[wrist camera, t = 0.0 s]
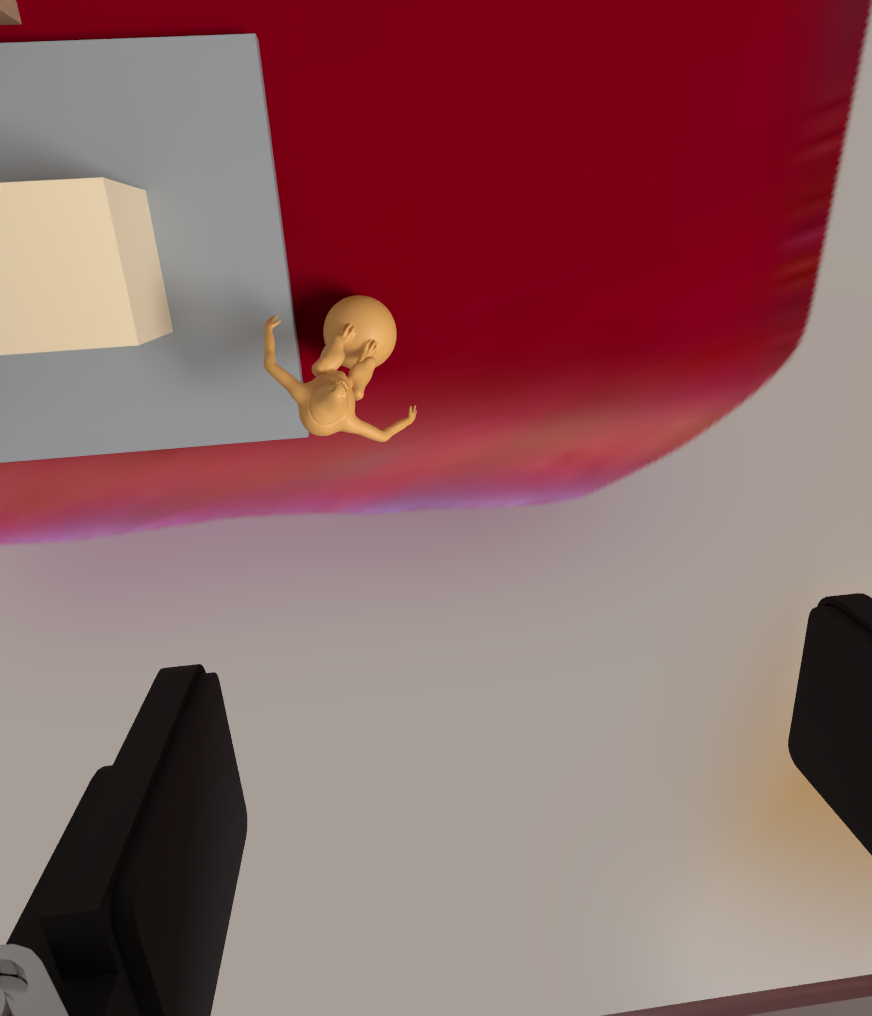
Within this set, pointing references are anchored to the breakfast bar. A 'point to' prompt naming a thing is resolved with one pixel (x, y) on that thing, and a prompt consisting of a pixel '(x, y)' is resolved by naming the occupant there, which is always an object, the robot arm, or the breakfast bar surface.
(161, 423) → the base plate
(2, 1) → the walnut cube
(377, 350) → the figurine
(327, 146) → the breakfast bar surface
